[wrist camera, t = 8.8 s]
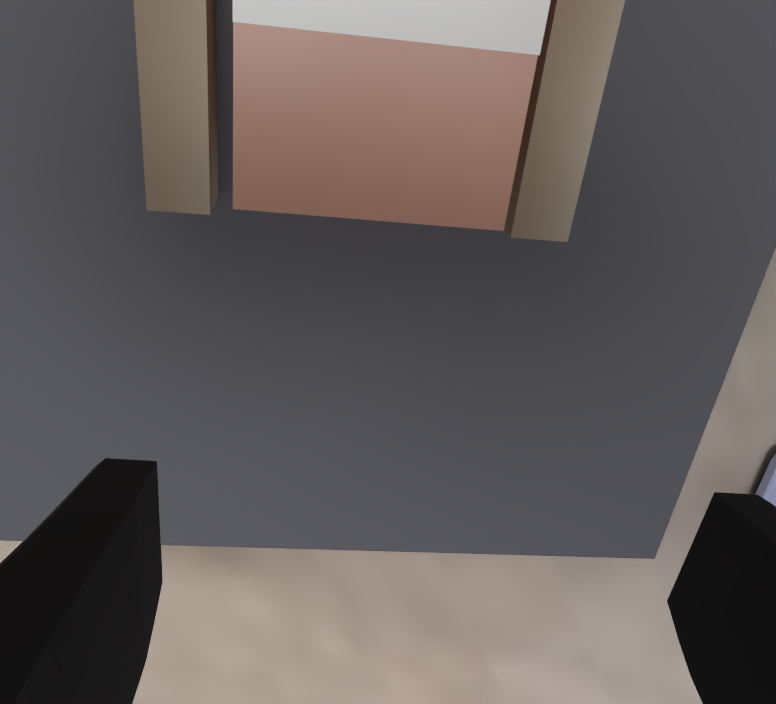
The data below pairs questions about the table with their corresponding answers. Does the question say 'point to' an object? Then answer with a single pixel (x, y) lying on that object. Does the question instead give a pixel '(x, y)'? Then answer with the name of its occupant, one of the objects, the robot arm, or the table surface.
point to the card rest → (538, 145)
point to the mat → (379, 312)
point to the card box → (382, 107)
